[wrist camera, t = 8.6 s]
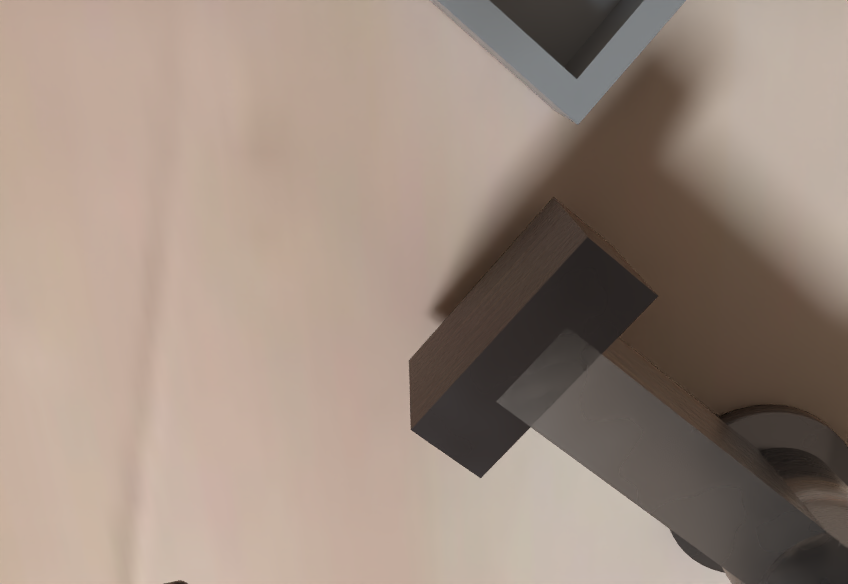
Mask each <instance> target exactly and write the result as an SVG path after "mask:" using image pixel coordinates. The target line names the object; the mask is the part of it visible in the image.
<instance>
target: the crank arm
mask: <svg viewBox="0 0 848 584" xmlns="http://www.w3.org/2000/svg"><path fill="white" fill-rule="evenodd" d="M657 297H658V295H657V294H656V293H655V292H654V291H653V290H652V289H651V288H650V287H649V286H648V284H647V283H646V282H645V281H644V280H643V279H642V278H641V277H640V276H639V275H638V274H637V272H636V271H635V270H634V269H633V268H632V267H631V266H630V265H629V264H628V263H627V262H626V261H625V259H624V258H623V257H622V256H621V255H620V254H619V253H618V252H617V251H616V250H615V249H614V248H613V247H612V246H611V245H610V244H609V243H608V242H607V241H605V240H604V239H603V238H602V237H601V236H599V235H598V234H597V233H596V232H595V231H593V230H592V229H591V228H590V227H589V226H588V225H586V224H585V223H584V222H583V221H582V220H580V219H579V218H578V217H577V216H576V215H574V214H573V213H572V212H571V211H570V210H569V209H567V208H566V207H565V206H564V205H563V204H561V203H560V202H559V201H558V200H557V199H555V198H554V197H553V198H552V200H551V201H550V202H549V203H548V204H547V205H546V206H545V207H544V209H543V210H542V211H541V212H540V213H539V214H538V215H537V217H536V218H535V219H534V220H533V221H532V222H531V223H530V224H529V226H528V227H527V228H526V229H525V230H524V231H523V232H522V233H521V235H520V236H519V237H518V238H517V239H516V240H515V241H514V243H513V244H512V245H511V246H510V247H509V248H508V249H507V250H506V252H505V253H504V254H503V255H502V256H501V257H500V258H499V259H498V261H497V262H496V263H495V264H494V265H493V266H492V267H491V269H490V270H489V271H488V272H487V273H486V274H485V275H484V276H483V278H482V279H481V280H480V281H479V282H478V283H477V284H476V285H475V287H474V288H473V289H472V290H471V291H470V292H469V293H468V294H467V296H466V297H465V298H464V299H463V300H462V301H461V302H460V304H459V305H458V306H457V307H456V308H455V309H454V310H453V311H452V313H451V314H450V315H449V316H448V317H447V318H446V319H445V320H444V322H443V323H442V324H441V325H440V326H439V327H438V328H437V330H436V331H435V332H434V333H433V334H432V335H431V336H430V337H429V339H428V340H427V341H426V342H425V343H424V344H423V345H422V346H421V348H420V349H419V350H418V351H417V352H416V353H415V354H414V356H413V357H412V358H411V359H410V360H409V377H410V417H411V430H412V431H413V432H415V433H416V434H418V435H419V436H420V437H422V438H423V439H425V440H426V441H428V442H429V443H430V444H432V445H433V446H435V447H436V448H438V449H439V450H441V451H442V452H443V453H445V454H446V455H448V456H449V457H451V458H452V459H454V460H455V461H456V462H458V463H459V464H461V465H462V466H464V467H465V468H467V469H468V470H469V471H471V472H472V473H474V474H475V475H477V476H478V477H480V478H481V477H482V476H483V475H484V474H485V473H486V472H487V471H488V470H489V469H490V468H491V467H492V466H493V465H494V464H495V463H496V462H497V461H498V460H499V459H500V458H501V457H502V456H503V455H504V454H505V453H506V452H507V451H508V450H509V449H510V448H511V447H512V446H513V445H514V444H515V443H516V442H517V440H518V439H519V438H520V437H521V436H522V435H523V434H524V433H525V432H526V431H527V430H528V429H529V428H530V427H531V428H533V429H534V430H535V431H537V432H538V433H540V434H541V435H542V436H544V437H545V438H546V439H548V440H549V441H551V442H552V443H553V444H555V445H556V446H557V447H559V448H560V449H561V450H563V451H564V452H566V453H567V454H568V455H570V456H571V457H572V458H574V459H575V460H577V461H578V462H579V463H581V464H582V465H583V466H585V467H586V468H587V469H589V470H590V471H592V472H593V473H594V474H596V475H597V476H598V477H600V478H601V479H602V480H604V481H605V482H607V483H608V484H609V485H611V486H612V487H613V488H615V489H616V490H618V491H619V492H620V493H622V494H623V495H624V496H626V497H627V498H628V499H630V500H631V501H633V502H634V503H635V504H637V505H638V506H639V507H641V508H642V509H643V510H645V511H646V512H648V513H649V514H650V515H652V516H653V517H654V518H656V519H657V520H659V521H660V522H661V523H663V524H664V525H665V526H667V527H668V528H669V529H671V530H672V531H674V532H675V533H676V534H678V535H679V536H680V537H682V538H683V539H685V540H686V541H687V542H689V543H690V544H691V545H693V546H694V547H695V548H697V549H698V550H700V551H701V552H702V553H704V554H705V555H706V556H708V557H709V558H710V559H712V560H713V561H715V562H716V563H717V564H719V565H720V566H721V567H722V568H723V570H724V572H725V573H726V575H727V577H728V578H729V580H730V582H731V583H732V584H848V486H847V485H846V484H845V483H844V482H843V481H842V480H841V479H840V478H839V477H838V476H837V475H836V474H835V473H834V472H833V470H832V469H831V468H830V467H829V466H828V465H827V464H826V463H825V462H824V461H823V460H821V459H820V458H818V457H817V456H815V455H813V454H811V453H809V452H806V451H803V450H800V449H794V448H784V447H781V448H769V449H764V450H760V451H759V450H758V449H757V448H756V447H754V446H753V445H752V444H751V443H749V442H748V441H747V440H746V439H745V438H743V437H742V436H741V435H740V434H738V433H737V432H736V431H735V430H733V429H732V428H731V427H730V426H728V425H727V424H726V423H725V422H723V421H722V420H721V419H720V418H718V417H717V416H716V415H715V414H713V413H712V412H711V411H710V410H708V409H707V408H706V407H705V406H703V405H702V404H701V403H700V402H698V401H697V400H696V399H695V398H693V397H692V396H691V395H690V394H688V393H687V392H686V391H685V390H683V389H682V388H681V387H680V386H678V385H677V384H676V383H675V382H673V381H672V380H671V379H670V378H668V377H667V376H666V375H665V374H664V373H662V372H661V371H660V370H659V369H657V368H656V367H655V366H654V365H652V364H651V363H650V362H649V361H647V360H646V359H645V358H644V357H642V356H641V355H640V354H639V353H637V352H636V351H635V350H634V349H632V348H631V347H630V346H629V345H627V344H626V343H625V342H624V341H622V340H621V339H620V338H619V336H620V335H621V334H622V333H623V332H624V331H625V330H626V329H627V328H628V327H629V326H630V325H631V324H632V323H633V322H634V320H635V319H636V318H637V317H638V316H639V315H640V314H641V313H642V312H643V311H644V310H645V309H646V308H647V307H648V306H649V305H650V304H651V303H652V302H653V301H654V300H655V299H656V298H657Z"/></svg>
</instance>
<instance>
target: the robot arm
mask: <svg viewBox="0 0 848 584" xmlns="http://www.w3.org/2000/svg"><path fill="white" fill-rule="evenodd" d="M165 584H188V583H186V582H184V581H174V582H170V583H165Z"/></svg>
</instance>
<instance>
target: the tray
mask: <svg viewBox="0 0 848 584" xmlns="http://www.w3.org/2000/svg"><path fill="white" fill-rule="evenodd" d="M430 1H431V2H432V3H434V4H435V5H436V6H437V7H438V8H439V9H440V10H441V11H443V12H444V13H445V14H446V15H447V16H448V17H449V18H451V19H452V20H453V21H454V22H455V23H456V24H457V25H458V26H460V27H461V28H462V29H463V30H464V31H465V32H466V33H468V34H469V35H470V36H471V37H472V38H473V39H474V40H475V41H477V42H478V43H479V44H480V45H481V46H482V47H483V48H485V49H486V50H487V51H488V52H489V53H490V54H491V55H493V56H494V57H495V58H496V59H497V60H498V61H499V62H500V63H502V64H503V65H504V66H505V67H506V68H507V69H508V70H510V71H511V72H512V73H513V74H514V75H515V76H516V77H517V78H519V79H520V80H521V81H522V82H523V83H524V84H525V85H527V86H528V87H529V88H530V89H531V90H532V91H533V92H534V93H536V94H537V95H538V96H539V97H540V98H541V99H542V100H544V101H545V102H546V103H547V104H548V105H549V106H550V107H552V108H553V109H554V110H555V111H556V112H558V113H560V114H561V115H563V116H564V117H566V118H568V119H569V120H571V121H573V122H574V123H576V124H579V123H580V122H581V121H582V120H583V119H584V117H585V116H586V115H587V114H588V113H589V112H590V110H591V109H592V108H593V107H594V106H595V105H596V104H597V102H598V101H599V100H600V99H601V98H602V97H603V96H604V94H605V93H606V92H607V91H608V90H609V89H610V87H611V86H612V85H613V84H614V83H615V82H616V81H617V79H618V78H619V77H620V76H621V75H622V74H623V72H624V71H625V70H626V69H627V68H628V67H629V66H630V64H631V63H632V62H633V61H634V60H635V59H636V57H637V56H638V55H639V54H640V53H641V52H642V51H643V49H644V48H645V47H646V46H647V45H648V44H649V43H650V41H651V40H652V39H653V38H654V37H655V36H656V34H657V33H658V32H659V31H660V30H661V29H662V28H663V26H664V25H665V24H666V23H667V22H668V21H669V19H670V18H671V17H672V16H673V15H674V14H675V13H676V11H677V10H678V9H679V8H680V7H681V6H682V4H683V3H684V2H685V1H686V0H430Z"/></svg>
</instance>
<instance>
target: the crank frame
mask: <svg viewBox="0 0 848 584" xmlns="http://www.w3.org/2000/svg"><path fill="white" fill-rule="evenodd" d="M718 418H720V419H721V420H722V421H723V422H725V423H726V424H727V425H728V426H730V427H731V428H732V429H733V430H735V431H736V432H737V433H738V434H740V435H741V436H742V437H743V438H745V439H746V440H747V441H748V442H749V443H751V444H752V445H753V446H754V447H756V448H757V449H758V450H759V451H760V450H764V449H769V448H781V447H784V448H794V449H800V450H803V451H806V452H809V453H811V454H813V455H815V456H817V457H818V458H820V459H821V460H823V461H824V462H825V463H826V464H827V465H828V466H829V467H830V468H831V469H832V470H833V472H834V473H835V474H836V475H837V476H838V477H839V478H840V479H841V480H842V481H843V482H844V483H845V484H846V485H847V486H848V447H847V446H846V444H845V443H844V441H843V440H842V439H841V438H840V437H839V436H838V435H837V434H836V433H835V432H834V431H833V430H832V429H831V428H829V427H828V426H827V425H826V424H825V423H824V422H823V421H821V420H820V419H818V418H817V417H815V416H814V415H812V414H810V413H808V412H805V411H802V410H800V409H797V408H793V407H788V406H780V405H758V406H752V407H746V408H742V409H739V410H735V411H732V412H730V413H727V414H724V415H722V416H720V417H718ZM670 531H671V533H672V535H673V537H674V538H675V540H676V541H677V543H678V545H679V546H680V547H681V548H682V549H683V551H684V552H685V553H686V554H687V555H689V556H690V557H691V558H692V559H694V560H695V561H697V562H698V563H700V564H702V565H704V566H706V567H708V568H710V569H713V570H717V571H720V572H724V570H723V568H722V567H721V566H720V565H719V564H717V563H716V562H715V561H713V560H712V559H710V558H709V557H708V556H706V555H705V554H704V553H702V552H701V551H700V550H698V549H697V548H695V547H694V546H693V545H691V544H690V543H689V542H687V541H686V540H685V539H683V538H682V537H680V536H679V535H678V534H676V533H675V532H674V531H672V530H671V529H670ZM724 573H725V572H724Z"/></svg>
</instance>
